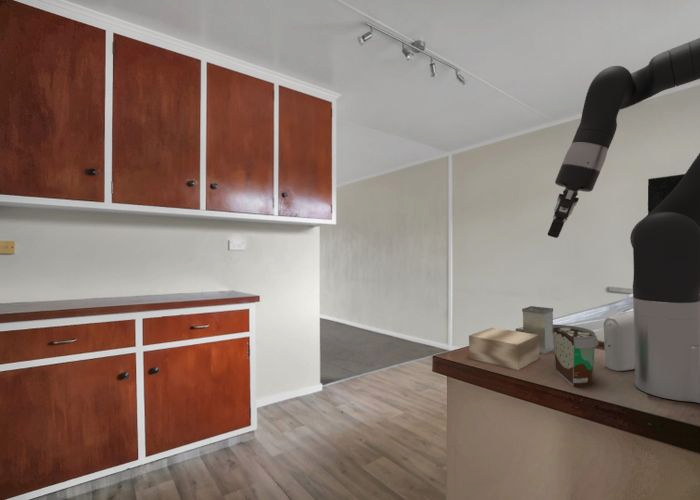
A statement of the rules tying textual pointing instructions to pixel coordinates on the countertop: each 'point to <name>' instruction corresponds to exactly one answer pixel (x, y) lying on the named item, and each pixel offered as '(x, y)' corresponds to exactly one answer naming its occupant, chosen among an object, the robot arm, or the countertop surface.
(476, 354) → the beech block
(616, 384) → the countertop surface
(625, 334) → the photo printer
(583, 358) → the food container
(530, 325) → the tin canister
